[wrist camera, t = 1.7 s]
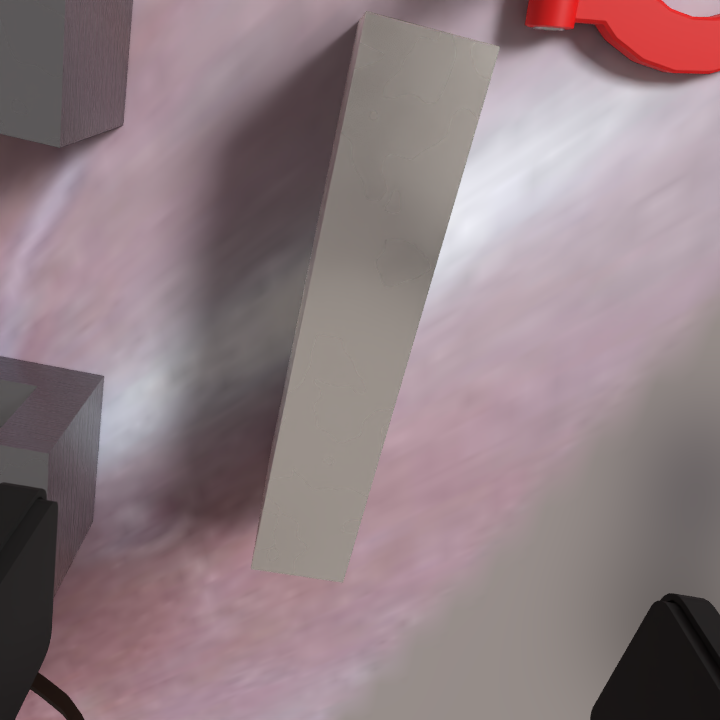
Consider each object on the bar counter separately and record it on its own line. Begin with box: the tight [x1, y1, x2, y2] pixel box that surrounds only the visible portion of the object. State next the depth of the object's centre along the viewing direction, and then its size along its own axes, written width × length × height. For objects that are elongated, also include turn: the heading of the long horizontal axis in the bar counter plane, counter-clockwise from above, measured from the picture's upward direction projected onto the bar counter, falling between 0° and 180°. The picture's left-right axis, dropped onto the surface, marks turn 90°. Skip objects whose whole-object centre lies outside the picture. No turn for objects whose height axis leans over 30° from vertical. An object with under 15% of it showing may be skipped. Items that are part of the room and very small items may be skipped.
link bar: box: [251, 11, 500, 583], centre depth 20 cm, size 16×3×6 cm, turn 167°
